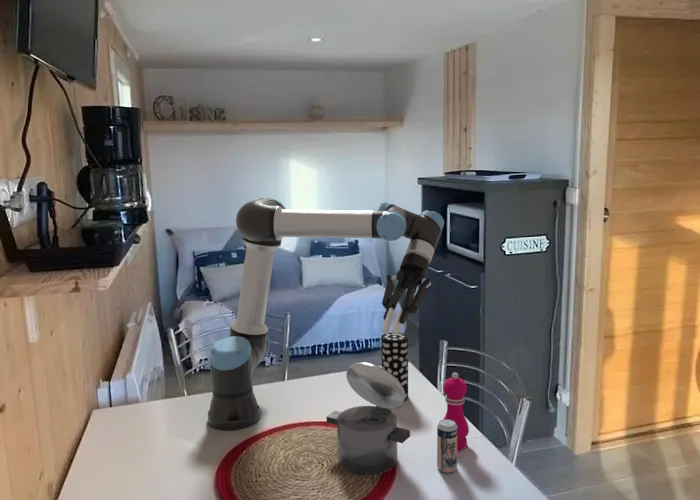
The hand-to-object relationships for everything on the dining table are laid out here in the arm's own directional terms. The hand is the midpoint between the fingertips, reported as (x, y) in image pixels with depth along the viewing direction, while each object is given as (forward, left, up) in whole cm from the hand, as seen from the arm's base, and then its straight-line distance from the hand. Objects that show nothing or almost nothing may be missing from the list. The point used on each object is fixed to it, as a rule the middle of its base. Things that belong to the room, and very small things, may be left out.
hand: (389, 332), depth 151 cm
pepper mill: (+16, +6, -30) cm, 35 cm away
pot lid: (0, -8, -13) cm, 15 cm away
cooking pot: (0, -12, -30) cm, 32 cm away
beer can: (+19, -6, -30) cm, 36 cm away
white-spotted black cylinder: (-12, +25, -30) cm, 41 cm away
